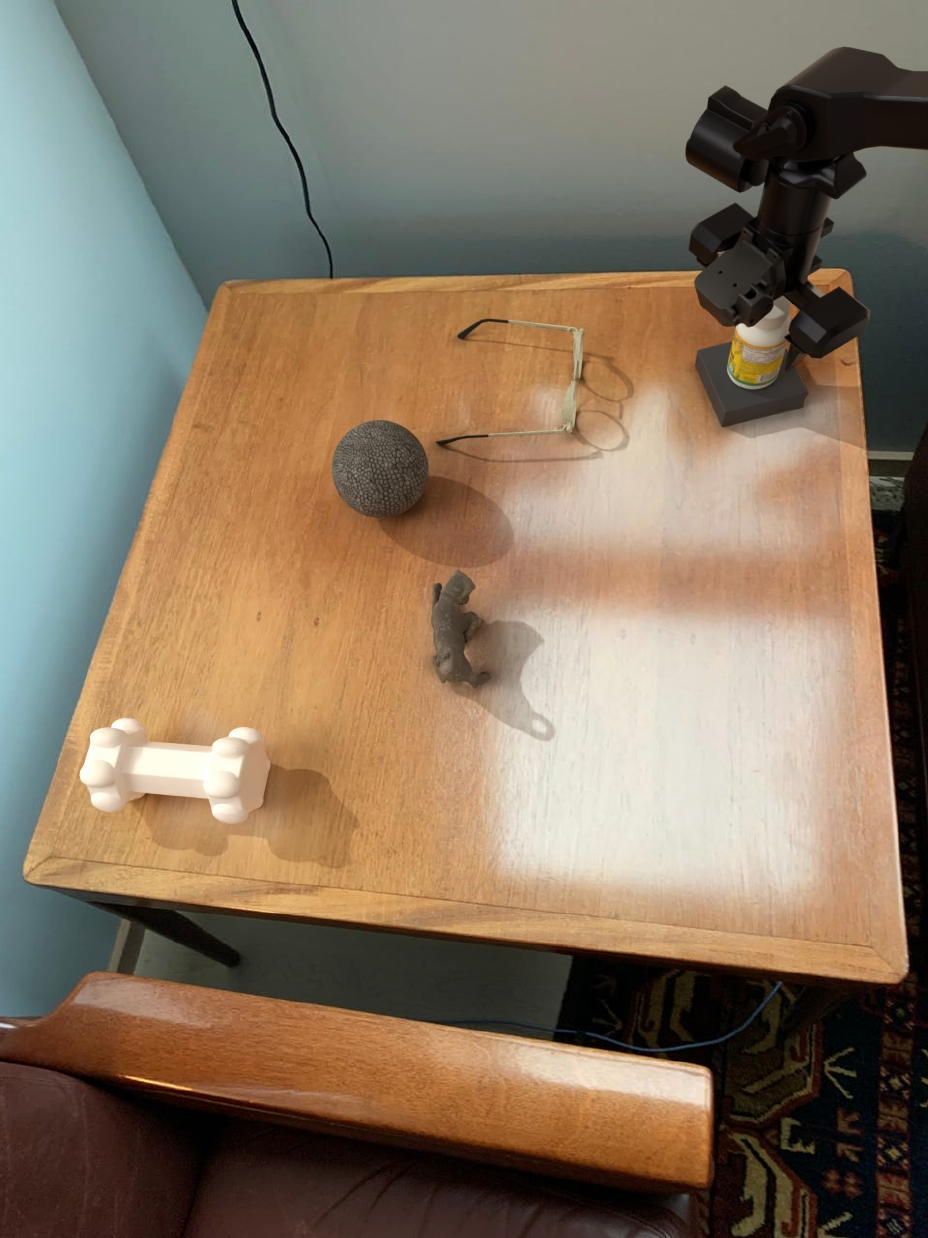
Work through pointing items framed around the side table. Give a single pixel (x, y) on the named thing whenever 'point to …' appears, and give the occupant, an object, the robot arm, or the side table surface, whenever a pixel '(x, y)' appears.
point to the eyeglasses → (571, 394)
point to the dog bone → (176, 769)
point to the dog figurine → (454, 630)
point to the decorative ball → (380, 469)
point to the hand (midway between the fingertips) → (758, 341)
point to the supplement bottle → (760, 348)
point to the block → (742, 402)
